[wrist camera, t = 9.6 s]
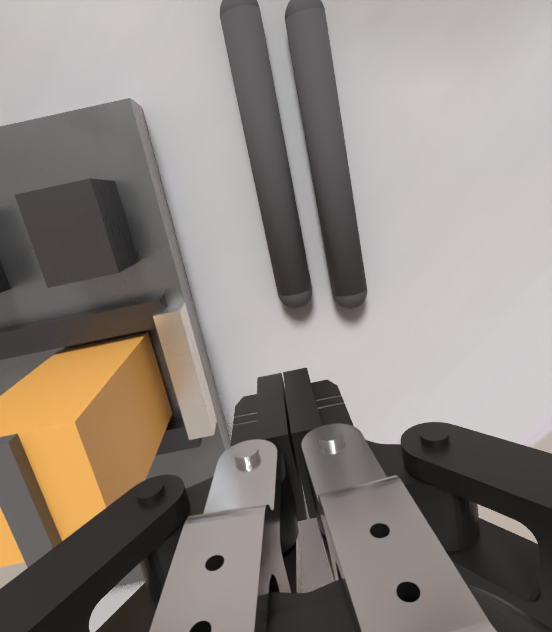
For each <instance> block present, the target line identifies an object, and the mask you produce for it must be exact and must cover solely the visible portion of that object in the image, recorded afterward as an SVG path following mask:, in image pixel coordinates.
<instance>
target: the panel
mask: <svg viewBox="0 0 552 632" xmlns="http://www.w3.org/2000/svg"><path fill="white" fill-rule="evenodd" d="M146 332H148V334H149V337H150V340H151V344H152V347H153V350H154V354H155V357H156V360H157V364H158V367H159V370H160V374H161V377H162V380H163V384H164V387H165V390H166V394H167V397H168V400H169V404H170V407H171V410H172V416H171V418H170V421H169V423H168V426H167V428H166V431H165V433H164V435H163V438H162V440H161V443H160V445H159V448H158V450H157V453H156V455H155V458H154V460H153V463H152V465H151V468H150V470H149V473H148V475H147V478H146V479H149V478H152V477H155V476H159V475H175V476H178V477H180V478H181V479H182V480H183V482H184V485H185V489H186V488H188V487H191V486H193V485H195V484H198V483H200V482H203V481H205V480H207V479H209V478H211V477H212V476H214V473H215V470H216V466H217V462H218V460H219V458H220V456H221V455H222V454H223V453H224V452H225V451H226V450H227V449H229V448H230V447H231V443H230V439H229V435H228V432H227V428H226V424H225V420H224V417H223V413H222V409H221V405H220V402H219V398H218V394H217V390H216V386H215V383H214V379H213V375H212V371H211V368H210V364H209V360H208V356H207V352H206V349H205V345H204V341H203V337H202V334H201V330H200V326H199V322H198V319H197V315H196V311H195V307H194V303H193V300H192V296H191V292H190V288H189V285H188V281H187V277H186V273H185V269H184V266H183V262H182V258H181V254H180V251H179V247H178V243H177V239H176V236H175V232H174V228H173V224H172V220H171V217H170V213H169V209H168V205H167V202H166V198H165V194H164V190H163V187H162V183H161V179H160V175H159V171H158V168H157V164H156V160H155V156H154V153H153V149H152V145H151V141H150V137H149V134H148V130H147V126H146V122H145V119H144V115H143V111H142V107H141V106H140V105H139V104H137V103H136V102H134V101H133V100H132V99H130V98H128V99H124V100H119V101H115V102H110V103H106V104H101V105H96V106H92V107H87V108H83V109H78V110H74V111H69V112H65V113H60V114H56V115H51V116H46V117H42V118H37V119H33V120H28V121H24V122H19V123H15V124H10V125H6V126H1V127H0V396H1V395H2V394H3V393H5V392H6V391H7V390H9V389H10V388H11V387H12V386H14V385H15V384H16V383H18V382H19V381H20V380H21V379H23V378H24V377H25V376H27V375H28V374H29V373H31V372H32V371H33V370H34V369H36V368H37V367H38V366H40V365H41V364H42V363H43V362H45V361H46V360H47V359H49V358H50V357H51V356H52V355H54V354H55V353H56V352H58V351H59V350H64V349H69V348H74V347H78V346H83V345H88V344H93V343H98V342H103V341H107V340H112V339H117V338H122V337H127V336H131V335H136V334H141V333H146ZM26 569H27V565H26V563H25V562H24V563H19V564H14V565H9V566H4V567H0V589H1V588H2V587H3V586H5V585H6V584H7V583H9V582H10V581H11V580H12V579H14V578H15V577H16V576H18V575H19V574H20V573H22V572H23V571H24V570H26ZM139 581H145V579H144V577H143V574H142V571H141V568H140V565H139V564H138V565H137V566H136V567H135V568H134V569H133V570H132V571H131V572H130V573H128V574H127V575H126V576H125V577H124V578H123V579H122V580H121V581H120V582H119V583H118V584H117V585H116V586H119V585H124V584H129V583H134V582H139Z"/></svg>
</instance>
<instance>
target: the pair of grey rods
mask: <svg viewBox="0 0 552 632" xmlns="http://www.w3.org/2000/svg"><path fill="white" fill-rule="evenodd" d="M220 19H221V24H222V29H223V33H224V38H225V43H226V48H227V52H228V57H229V62H230V67H231V72H232V76H233V81H234V86H235V91H236V96H237V100H238V105H239V110H240V115H241V119H242V124H243V129H244V134H245V139H246V143H247V148H248V153H249V158H250V162H251V167H252V172H253V177H254V182H255V186H256V191H257V196H258V201H259V206H260V210H261V215H262V220H263V225H264V229H265V234H266V239H267V244H268V249H269V253H270V258H271V263H272V268H273V273H274V277H275V282H276V287H277V292H278V296H279V298H280V300H281V301H282V302H283V303H284V304H285V305H286V306H288V307H292V308H298V307H301V306H303V305H305V304H306V303H307V302H308V301H309V299H310V298H311V295H312V286H311V281H310V276H309V270H308V265H307V260H306V254H305V249H304V243H303V238H302V233H301V227H300V222H299V217H298V211H297V206H296V201H295V195H294V190H293V185H292V179H291V174H290V168H289V163H288V158H287V152H286V147H285V142H284V136H283V131H282V126H281V120H280V115H279V109H278V104H277V99H276V93H275V88H274V83H273V77H272V72H271V67H270V61H269V56H268V50H267V45H266V40H265V34H264V29H263V24H262V18H261V13H260V8H259V5H258V2H257V0H223V1H222V3H221V7H220ZM285 23H286V28H287V34H288V40H289V46H290V51H291V57H292V63H293V69H294V74H295V80H296V86H297V92H298V97H299V103H300V109H301V115H302V120H303V126H304V132H305V138H306V143H307V149H308V155H309V161H310V166H311V172H312V178H313V184H314V190H315V195H316V201H317V207H318V213H319V218H320V224H321V230H322V236H323V241H324V247H325V253H326V259H327V264H328V270H329V276H330V282H331V287H332V293H333V297H334V299H335V301H336V302H337V303H338V304H339V305H340V306H342V307H344V308H355V307H358V306H359V305H361V304H362V303H363V302H364V300H365V298H366V295H367V286H366V279H365V273H364V266H363V260H362V253H361V246H360V240H359V233H358V227H357V220H356V213H355V207H354V200H353V193H352V187H351V180H350V174H349V167H348V160H347V154H346V147H345V141H344V134H343V127H342V121H341V114H340V108H339V101H338V94H337V88H336V81H335V74H334V68H333V61H332V55H331V48H330V41H329V35H328V28H327V22H326V15H325V9H324V6H323V4H322V1H321V0H290V2H289V3H288V5H287V8H286V12H285Z"/></svg>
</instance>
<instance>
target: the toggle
mask: <svg viewBox="0 0 552 632" xmlns="http://www.w3.org/2000/svg"><path fill="white" fill-rule="evenodd" d="M171 416H172V410H171V407H170V404H169V400H168V397H167V394H166V390H165V387H164V384H163V380H162V377H161V374H160V370H159V367H158V364H157V360H156V357H155V354H154V350H153V347H152V344H151V340H150V337H149V334H148V332H146V333H141V334H136V335H131V336H127V337H122V338H117V339H112V340H107V341H103V342H98V343H93V344H88V345H83V346H78V347H74V348H69V349H64V350H59V351H58V352H56V353H55V354H54V355H52V356H51V357H50V358H49V359H47V360H46V361H45V362H43V363H42V364H41V365H40V366H38V367H37V368H36V369H34V370H33V371H32V372H31V373H29V374H28V375H27V376H25V377H24V378H23V379H21V380H20V381H19V382H18V383H16V384H15V385H14V386H12V387H11V388H10V389H9V390H7V391H6V392H5V393H3V394H2V395H1V396H0V567H4V566H9V565H14V564H19V563H24V562H25V563H26V565H27V568H28V567H29V566H31V565H32V564H33V563H35V562H36V561H37V560H39V559H40V558H41V557H42V556H44V555H45V554H46V553H48V552H49V551H50V550H52V549H53V548H54V547H56V546H57V545H58V544H59V543H61V542H62V541H63V540H65V539H66V538H67V537H69V536H70V535H71V534H73V533H74V532H75V531H76V530H78V529H79V528H80V527H82V526H83V525H84V524H86V523H87V522H88V521H90V520H91V519H92V518H93V517H95V516H96V515H97V514H99V513H100V512H101V511H103V510H104V509H105V508H106V507H108V506H109V505H110V504H112V503H113V502H114V501H116V500H117V499H118V498H120V497H121V496H122V495H123V494H125V493H126V492H127V491H129V490H130V489H131V488H133V487H134V486H136V485H137V484H139V483H140V482H142V481H144V480H146V478H147V475H148V473H149V470H150V468H151V465H152V463H153V460H154V458H155V455H156V453H157V450H158V448H159V445H160V443H161V440H162V438H163V435H164V433H165V431H166V428H167V426H168V423H169V421H170V418H171Z"/></svg>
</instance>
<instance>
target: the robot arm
mask: <svg viewBox="0 0 552 632" xmlns="http://www.w3.org/2000/svg"><path fill="white" fill-rule="evenodd" d="M283 375H284V382H283V378H282V374H281V373H278V374H273V375H268V376H263V377H258V381H257V394H255V395H250V396H245V397H243V398H242V399H241V400H240V401H239V403H238V404H237V405H236V406H235V413H234V422H233V425H234V426H233V431H232V439H231V447H230V448H229V449H227V450H226V451H225V452H224V453H223V454H222V455H221V456H220V458H219V460H218V462H217V466H216V470H215V473H214V476H212V477H211V478H209V479H207V480H205V481H203V482H200V483H198V484H195V485H193V486H191V487H188V488H186V489H185V485H184V482H183V480H182V479H181V478H180V477H178V476H175V475H159V476H155V477H152V478H149V479H146V480H144V481H142V482H140V483H139V484H137V485H136V486H134V487H133V488H131V489H130V490H129V491H127V492H126V493H125V494H123V495H122V496H121V497H120V498H118V499H117V500H116V501H114V502H113V503H112V504H110V505H109V506H108V507H106V508H105V509H104V510H103V511H101V512H100V513H99V514H97V515H96V516H95V517H93V518H92V519H91V520H90V521H88V522H87V523H86V524H84V525H83V526H82V527H80V528H79V529H78V530H76V531H75V532H74V533H73V534H71V535H70V536H69V537H67V538H66V539H65V540H63V541H62V542H61V543H59V544H58V545H57V546H56V547H54V548H53V549H52V550H50V551H49V552H48V553H46V554H45V555H44V556H42V557H41V558H40V559H39V560H37V561H36V562H35V563H33V564H32V565H31V566H29V567H28V568H27V569H26V570H24V571H23V572H22V573H20V574H19V575H18V576H16V577H15V578H14V579H12V580H11V581H10V582H9V583H7V584H6V585H5V586H3V587H2V588H1V589H0V632H90V631H89V620H90V616H91V613H92V611H93V609H94V608H95V606H96V605H97V603H98V602H99V601H100V600H101V599H102V598H103V597H104V596H105V595H106V594H107V593H108V592H109V591H110V590H111V589H112V588H113V587H115V586H116V585H117V584H118V583H119V582H120V581H121V580H122V579H123V578H124V577H125V576H126V575H127V574H128V573H130V572H131V571H132V570H133V569H134V568H135V567H136V566H137V565H138V564H139V565H140V568H141V571H142V574H143V577H144V579H145V583H144V584H143V585H142V586H141V587H140V588H139V589H138V590H137V591H136V592H135V593H134V594H133V595H132V596H131V597H130V598H129V599H128V600H127V601H126V602H125V603H124V604H123V605H122V606H121V607H120V608H119V609H118V610H117V611H116V612H115V613H114V614H113V615H112V616H111V617H110V618H109V619H108V620H107V621H106V622H105V623H104V624H103V625H102V626H101V627H100V628H99V629H98V630H97V631H96V632H552V454H550V453H547V452H544V451H540V450H537V449H534V448H530V447H527V446H524V445H520V444H517V443H513V442H510V441H507V440H503V439H500V438H496V437H493V436H490V435H486V434H483V433H479V432H476V431H473V430H469V429H466V428H462V427H459V426H456V425H452V424H448V423H442V422H429V423H422V424H418V425H415V426H413V427H411V428H409V429H408V430H406V431H405V432H404V433H403V435H402V437H401V444H378V443H373V442H370V441H367V440H365V438H364V437H363V435H362V433H361V432H360V431H359V430H358V429H357V428H355V427H354V426H353V423H352V421H351V418H350V416H349V413H348V411H347V408H346V406H345V404H344V401H343V399H342V396H341V394H340V391H339V389H338V386H337V385H335V384H334V383H332V382H330V381H329V380H323V381H318V382H313V383H311V382H310V378H309V375H308V371H307V368H302V369H297V370H292V371H287V372H283ZM284 383H285V387H284ZM302 486H303V488H302ZM303 490H304V495H305V499H306V504H307V508H308V513H309V517H310V518H315V517H317V521H318V525H319V530H320V534H321V539H322V544H323V548H324V551H325V555H326V559H327V562H328V566H329V569H330V573H331V577H332V580H333V582H332V583H330V584H328V585H326V586H323V587H321V588H319V589H317V590H314V591H312V592H309V593H301V566H300V546H299V542H298V521H301V520H306V519H307V516H306V509H305V502H304V495H303ZM477 504H479V505H481V506H484V507H486V508H489V509H491V510H493V511H496V512H498V513H500V514H503V515H505V516H508V517H510V518H512V519H515V520H517V521H519V522H520V523H522V524H523V525H524V526H526V527H527V528H528V529H529V530H530V531H531V532H532V533H533V535H534V536H535V538H536V540H537V542H538V544H536V543H534V542H532V541H530V540H528V539H525V538H523V537H521V536H519V535H516V534H514V533H512V532H510V531H507V530H505V529H503V528H501V527H498V526H496V525H494V524H492V523H489V522H487V521H485V520H483V519H480V518H479V517H478V508H477Z"/></svg>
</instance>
